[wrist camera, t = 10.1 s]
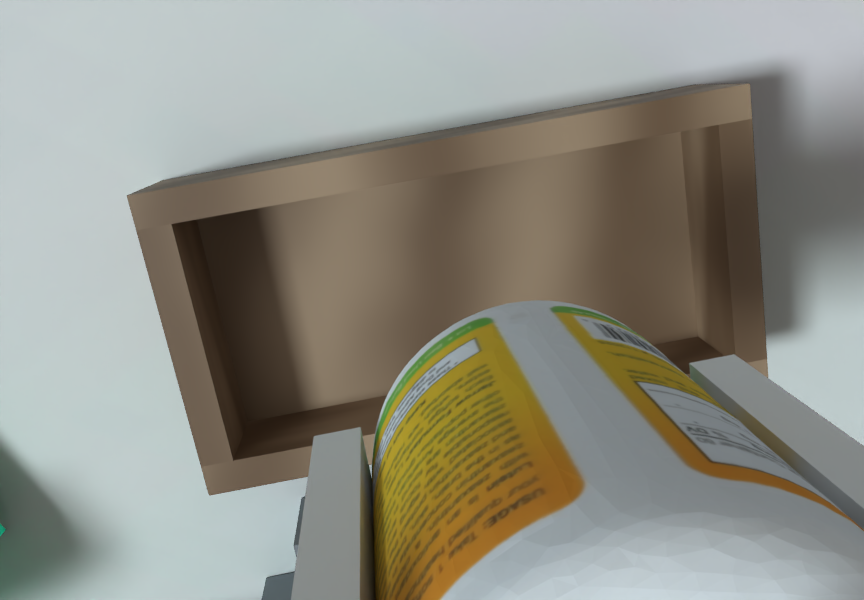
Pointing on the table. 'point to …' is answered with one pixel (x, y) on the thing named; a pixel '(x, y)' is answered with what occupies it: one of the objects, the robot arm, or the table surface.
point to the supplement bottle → (586, 476)
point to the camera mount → (2, 529)
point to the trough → (445, 259)
